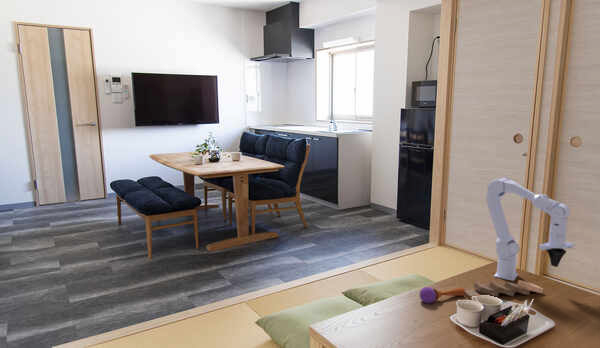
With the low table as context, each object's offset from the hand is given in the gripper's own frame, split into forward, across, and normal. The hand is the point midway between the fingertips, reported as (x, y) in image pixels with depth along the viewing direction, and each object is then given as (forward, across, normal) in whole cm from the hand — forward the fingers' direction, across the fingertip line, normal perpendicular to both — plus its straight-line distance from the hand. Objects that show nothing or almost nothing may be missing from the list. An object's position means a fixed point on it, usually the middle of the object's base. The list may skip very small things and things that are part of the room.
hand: (554, 265), depth 170 cm
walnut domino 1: (+10, -31, 0) cm, 33 cm away
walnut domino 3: (+10, -20, 0) cm, 22 cm away
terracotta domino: (+10, -7, 0) cm, 12 cm away
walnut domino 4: (+10, -13, 0) cm, 16 cm away
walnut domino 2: (+9, -26, 0) cm, 28 cm away
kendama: (+11, -50, 0) cm, 51 cm away
